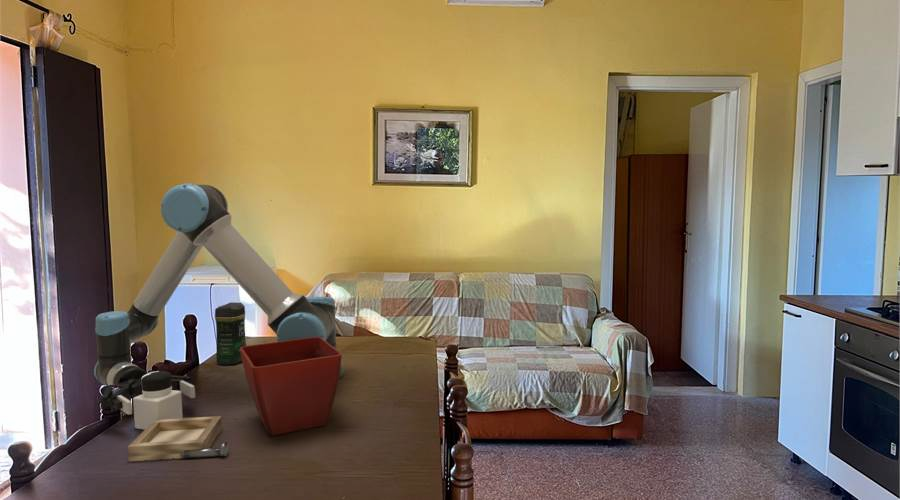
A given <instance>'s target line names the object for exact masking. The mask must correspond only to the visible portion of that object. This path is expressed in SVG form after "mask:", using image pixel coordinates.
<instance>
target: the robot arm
mask: <svg viewBox="0 0 900 500" xmlns="http://www.w3.org/2000/svg"><path fill="white" fill-rule="evenodd" d="M160 204H161V205H160V213H161V217H162V219H163V222H164V223H166V225H167V226H168V227H169V228H171V229H172V230H174V231H176V234H175V235H174V237H173V238H172V240H171V241H170V242H169V244H168V246H167V248H166V249H165V251H164V252H163V254H162V256H161V258H160V259H159V261H158V263H156V265H155V267H154V269H153V271H152V272H151V273H150V275H149V277H148V279H147V280H146V282H145V283H144V285H143V286H142V288H141V290H140V291H139V293H138V294H137V296H136V298H135V300H134V301H133V303H132V304H131V306H130V308H129V309H128V310H127V312H126V311H122V310H115V311H113V310H112V311H107V312H102V313H99V314H98V315H97V316H96V317H95V328H94V330H95V331H94V332H95V341H96V352H97V361H96V364H95V365H94V369H93V375H94V377H95V378H96V380H98V382H99V384H101V385H103V386H105V385H108V384H116V385H117V386H118V387H119V388H118V387H117V388H114V387H108V388H106V390H105V389H104V390H105V391H104V392H103V394H102V395H101V397H100V409H101V410H107V409H108V407H110V411H111V412H116V411H118V410H121V411H122V412H123V413H125V414H127V416H130V415H132V414H133V407H132V406H133V405H132V404H133V403H132V401H131V400H133V398H134V397H137V396H139V395H142V394H143V393H142V380H141V378H142V377H143V376H144V375H146V374H147V373H148V372H147V370H145V369H143V368H141V367H139V366H138V365H136V364H134V363H132V353H131V354H130V348H131V349H132V347H131V345H132V344H131V343H133V342H134V341H136V340H138V339H140V338H143V337H146V336H147V335H150V334H151V333H152V332H154V330H156V328H157V327H158V324H159V317H160V315H161V314H162V312H163V310H164V309H165V307H166V305H167V303H169V300H170V298H172V296H173V294H174V292H175V291H176V289H177V288H178V286H179V285H180V283H181V282H182V280H183V278H184V277H185V275H186V273H187V272H188V270H189V269H190V267H191V266H192V264H194V263H193V262H194V261H195V259H196V258H197V256H198V255H199V253H200V251H201V250H202V248H203V247H204V248H205V249H206V250H207V252H208V253H209V254H211V255H212V257H213V258H214V259H215V260H216V261H217V262H218V264H220V265H221V267H222V268H223V269H224V270H225V271H226V272H227V273H228V274H229V275H230V276H231V277H232V279H233V280H234V281H235V282H236V283H237V284H238V285H239V286H240V287H241V288H242V289H243V291H245V292H246V293H247V295H248V296H249V297H250V298H251V299H252V300H253V301H254V303H255V304H256V305H257V306H258V307H259V308H260V309H261V310H262V311H263V312H264V314H266V316H267V326H268V327H269V328H270V329H271V331H273V332H274V333H275V335H276V340H277V342H280V341H287V340H295V339H303V338H311V337H321V338H323V339H324V340H325V341H326V342H328V343H329V344H330V345H331V346H332V347H334V348H335V349H336V350H338V349H337V330H336V329H337V328H336V303H335V299H334V298H333V297H332V296H305V295H304V294H303V293H301V294H300V293H294V292H293V291H292V290H291V288H290V287H288V285H287V284H286V283H285V282H284V281H283V280H282V279H281V278H280V277H279V275H278V274H277V273H276V272H275V271H274V270H273V269H272V268H271V267H270V266H269V264H268V263H267V262H266V261H265V260H264V259H263V258H262V257H261V256H260V255H259V254H258V252H256V250H255V249H254V248H253V247H252V246H251V245H250V244H249V242H248V241H247V240H246V239H245V238H244V237H243V236H242V235H241V234H240V232H239V231H238V230H237V229H236V228H235V227H234V226H233V225H232V215H231V214H230V212H229V211H228V210H229V209H228V206H229V205H228V201H227V198H226V197H225V195H224V194H223V192H222V191H220V190H219V189H218V188H217V187H215V186H213V185H210V184H209V185H208V184H195V183H188V182H187V183H182V184H178V185H175V186H173V187H172V188H170V189H168V191H166V193H165V194H164V196H163V197H162V200H161V203H160ZM343 376H344V367H343V363H342V362H341V366H340V374H339V379H340V378H342V377H343ZM171 380H172V389H171V390H176V391H181V394H183V395H185V396H187V397H189V398H190V399H195V398H196V389H195V387H196V386H195V385H194V376H186V375H185V376H184V375H173V374H171ZM130 399H131V400H130Z"/></svg>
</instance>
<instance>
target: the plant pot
mask: <svg viewBox="0 0 900 500" xmlns="http://www.w3.org/2000/svg"><path fill="white" fill-rule="evenodd" d="M336 349H337V348H336ZM336 349H335V348H334V347H332V346H331V345H330V344H329V343H328V342H326V341H325V340H324V339H323V338H321V337H311V338H303V339H295V340H287V341H280V342H278V341H274V342H266V343H259V344H258V343H257V344H250V345H246V346H243V347H240V352H241V357H242V361H241V362H242V365H243V366H242V367H243V370H244V373H245V378H246V382H247V385H248V387H249V391H250V394H251V397H252V400H253V403H254V406H255V409H256V410H257V411H256V412H257V414H258V416H259V418H260V421H261V422H262V424H263V426H264V428H265V430H266V432H267V435H269V436H272V437H273V436H278V435H282V434H287V433H293V432H297V431H302V430H303V431H304V430H308V429H313V428H317V427H322V426H325V425H327V423H328V421H329V419H330V415H331V413H332V412H331V411H332V409H333V405H334V402H335V399H336V394H337V389H338V385H339V380H340V378H339V374H340V366H341V363H342V357H343V356H342V355H343V354H342V352H340V351H339V350H338V349H337V350H336Z"/></svg>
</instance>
